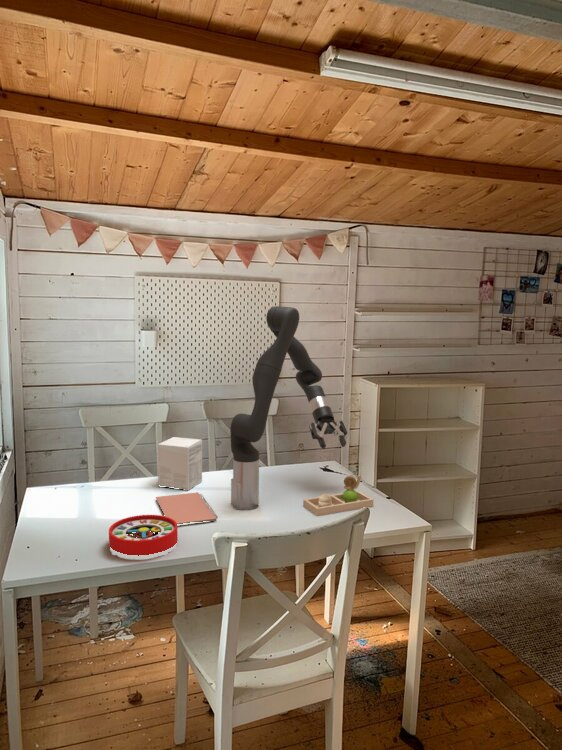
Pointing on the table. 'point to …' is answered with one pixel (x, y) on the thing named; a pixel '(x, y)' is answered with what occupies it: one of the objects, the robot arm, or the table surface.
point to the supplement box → (180, 463)
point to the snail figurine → (351, 488)
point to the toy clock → (143, 534)
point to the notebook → (186, 508)
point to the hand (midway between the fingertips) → (334, 446)
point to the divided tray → (337, 504)
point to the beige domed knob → (325, 500)
